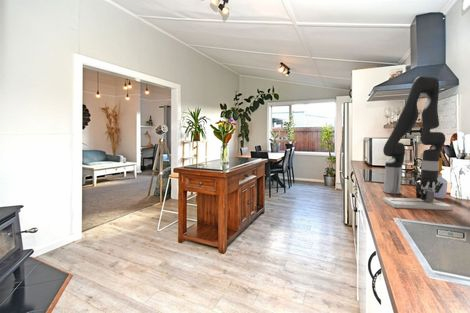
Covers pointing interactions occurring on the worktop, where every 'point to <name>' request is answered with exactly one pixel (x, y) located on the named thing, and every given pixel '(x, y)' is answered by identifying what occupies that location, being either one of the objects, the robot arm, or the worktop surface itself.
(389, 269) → the worktop surface
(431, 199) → the fader cap
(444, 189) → the soap bottle
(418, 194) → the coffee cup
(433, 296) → the worktop surface
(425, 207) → the console board
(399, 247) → the worktop surface
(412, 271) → the worktop surface
